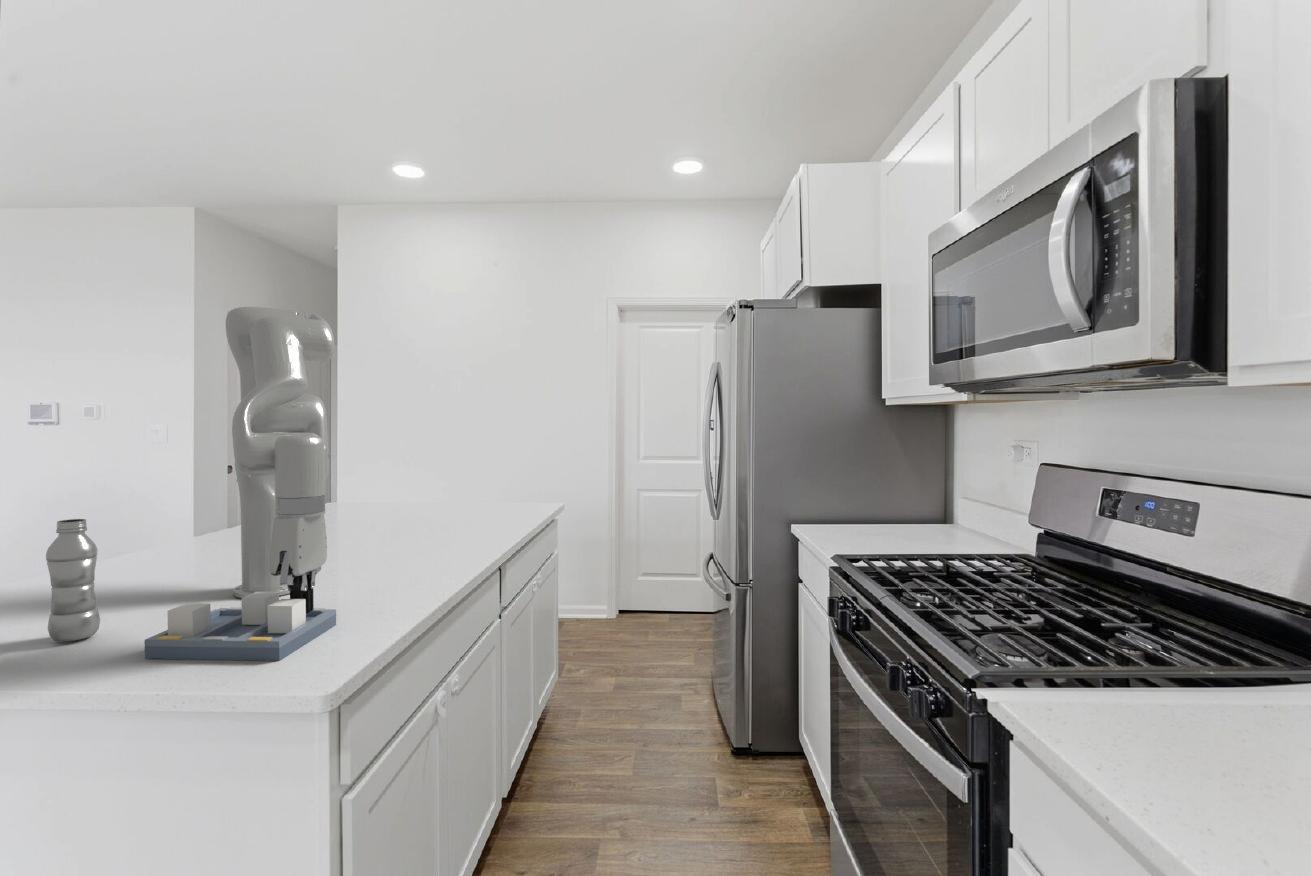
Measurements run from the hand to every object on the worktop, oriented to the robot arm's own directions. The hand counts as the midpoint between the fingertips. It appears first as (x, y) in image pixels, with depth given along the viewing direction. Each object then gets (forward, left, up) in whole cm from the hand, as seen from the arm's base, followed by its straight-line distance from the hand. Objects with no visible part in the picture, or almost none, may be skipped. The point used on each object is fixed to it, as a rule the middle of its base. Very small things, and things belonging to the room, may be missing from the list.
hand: (301, 611), depth 111 cm
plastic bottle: (+4, -36, -4) cm, 37 cm away
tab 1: (+7, -14, -2) cm, 16 cm away
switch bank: (+4, -7, -4) cm, 9 cm away
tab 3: (+4, 0, -2) cm, 4 cm away
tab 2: (0, -7, -2) cm, 7 cm away
